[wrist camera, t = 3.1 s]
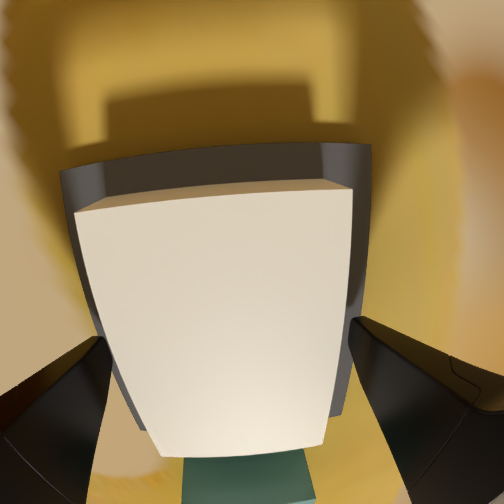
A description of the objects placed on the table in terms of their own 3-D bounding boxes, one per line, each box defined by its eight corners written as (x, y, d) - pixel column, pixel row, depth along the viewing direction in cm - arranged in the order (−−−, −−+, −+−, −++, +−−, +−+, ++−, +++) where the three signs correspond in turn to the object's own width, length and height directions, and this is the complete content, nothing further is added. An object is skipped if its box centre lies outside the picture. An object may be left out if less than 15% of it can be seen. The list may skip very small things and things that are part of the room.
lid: (166, 418, 10) (161, 456, 9) (106, 197, 7) (74, 212, 6) (310, 407, 11) (322, 444, 9) (323, 179, 8) (352, 189, 6)
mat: (142, 422, 11) (140, 430, 11) (67, 169, 7) (59, 171, 7) (337, 407, 12) (341, 414, 11) (364, 144, 8) (371, 144, 8)
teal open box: (212, 497, 15) (213, 544, 11) (185, 438, 12) (181, 508, 8) (290, 490, 15) (300, 537, 11) (298, 429, 12) (316, 498, 8)
